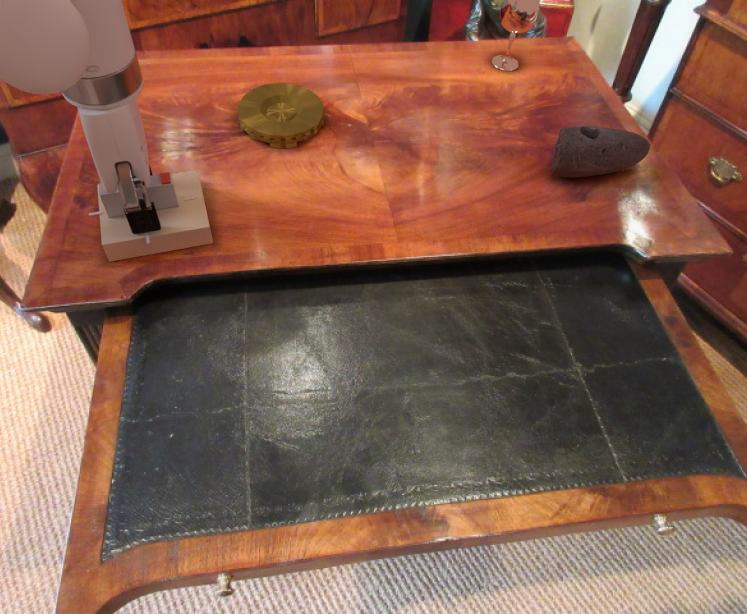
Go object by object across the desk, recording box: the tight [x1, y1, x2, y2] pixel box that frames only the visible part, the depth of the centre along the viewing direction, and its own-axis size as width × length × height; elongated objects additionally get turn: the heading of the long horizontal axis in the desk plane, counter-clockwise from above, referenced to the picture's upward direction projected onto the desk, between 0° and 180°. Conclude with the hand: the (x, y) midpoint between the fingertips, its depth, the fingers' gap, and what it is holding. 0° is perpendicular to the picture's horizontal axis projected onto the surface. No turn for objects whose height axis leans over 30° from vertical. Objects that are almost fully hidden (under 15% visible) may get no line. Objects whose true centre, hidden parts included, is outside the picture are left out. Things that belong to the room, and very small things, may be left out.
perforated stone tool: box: [551, 125, 651, 179], centre depth 83 cm, size 15×5×7 cm, turn 98°
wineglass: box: [491, 0, 541, 72], centre depth 95 cm, size 6×6×12 cm
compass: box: [237, 82, 325, 149], centre depth 86 cm, size 12×12×2 cm
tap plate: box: [88, 169, 214, 262], centre depth 73 cm, size 13×12×3 cm
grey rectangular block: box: [98, 171, 179, 218], centre depth 70 cm, size 8×2×4 cm, turn 107°
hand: (143, 205), depth 71 cm, fingers closed on tap plate, 7 cm apart
